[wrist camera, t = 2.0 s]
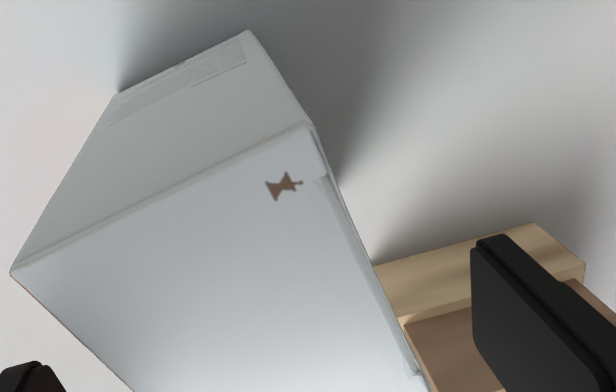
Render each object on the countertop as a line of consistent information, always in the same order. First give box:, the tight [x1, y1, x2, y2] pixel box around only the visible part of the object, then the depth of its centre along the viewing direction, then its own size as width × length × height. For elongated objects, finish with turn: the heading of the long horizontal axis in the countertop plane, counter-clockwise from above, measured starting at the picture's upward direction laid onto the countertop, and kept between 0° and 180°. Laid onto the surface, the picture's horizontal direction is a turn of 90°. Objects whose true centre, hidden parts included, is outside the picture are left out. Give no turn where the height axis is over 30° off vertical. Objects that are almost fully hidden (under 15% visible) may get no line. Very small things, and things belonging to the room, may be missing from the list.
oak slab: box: [373, 222, 586, 332], centre depth 23 cm, size 9×9×4 cm
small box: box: [9, 29, 432, 392], centre depth 14 cm, size 8×6×10 cm
